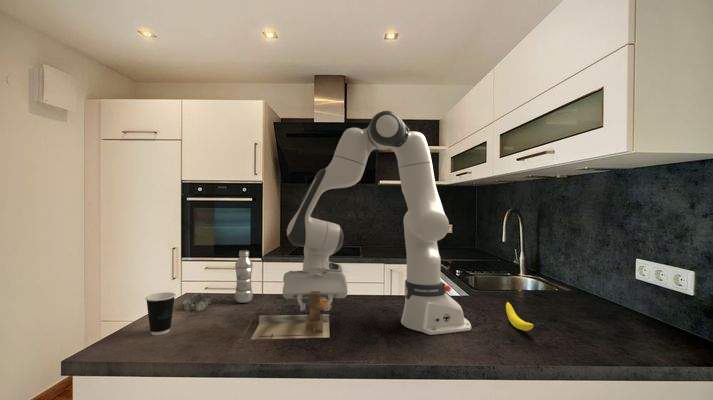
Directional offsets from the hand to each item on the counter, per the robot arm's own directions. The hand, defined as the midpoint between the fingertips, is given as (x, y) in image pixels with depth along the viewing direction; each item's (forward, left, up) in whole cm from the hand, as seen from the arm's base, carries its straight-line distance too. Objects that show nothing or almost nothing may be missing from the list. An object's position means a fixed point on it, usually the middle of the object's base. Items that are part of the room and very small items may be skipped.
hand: (314, 310), depth 101 cm
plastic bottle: (+29, -33, -8) cm, 44 cm away
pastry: (-2, -22, -8) cm, 24 cm away
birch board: (+7, -1, -7) cm, 10 cm away
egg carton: (+44, -29, -8) cm, 53 cm away
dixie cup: (+47, -5, -8) cm, 47 cm away
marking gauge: (0, -1, -6) cm, 6 cm away
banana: (-65, -1, -8) cm, 66 cm away
